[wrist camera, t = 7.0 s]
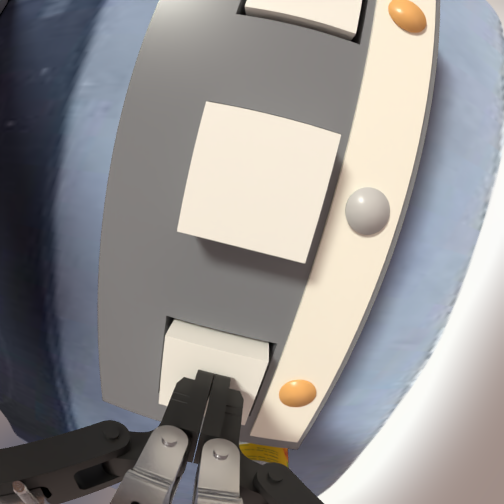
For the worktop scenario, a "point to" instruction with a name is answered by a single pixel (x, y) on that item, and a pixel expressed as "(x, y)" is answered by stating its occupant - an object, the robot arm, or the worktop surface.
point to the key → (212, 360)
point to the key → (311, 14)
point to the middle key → (257, 181)
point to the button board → (244, 260)
